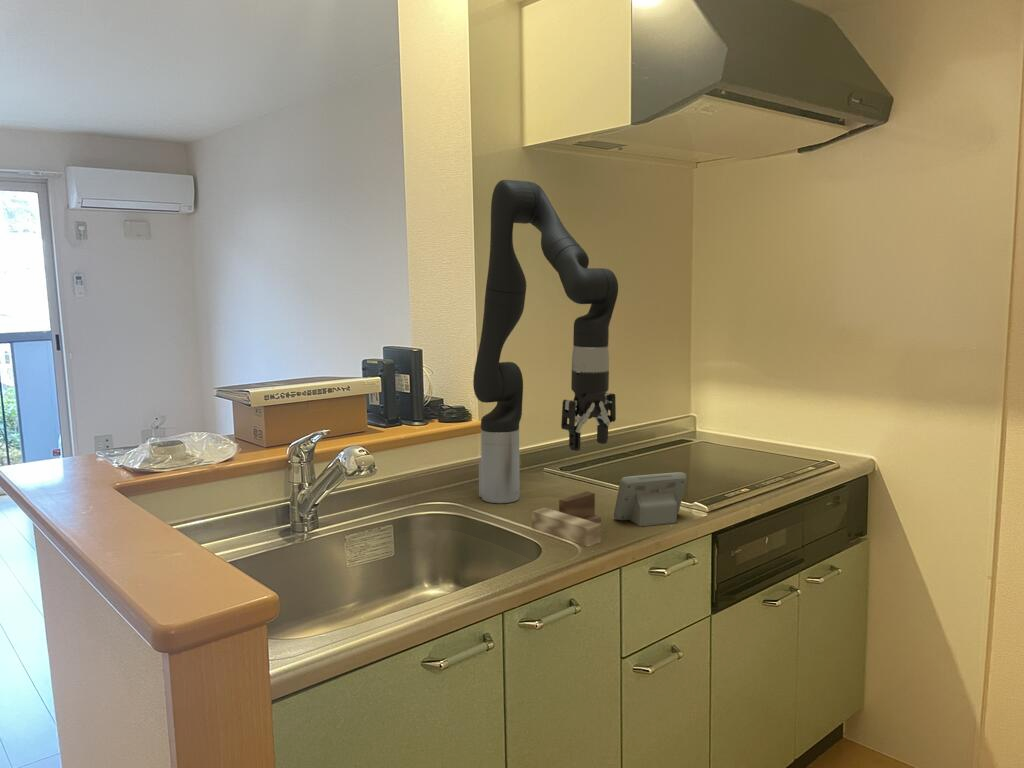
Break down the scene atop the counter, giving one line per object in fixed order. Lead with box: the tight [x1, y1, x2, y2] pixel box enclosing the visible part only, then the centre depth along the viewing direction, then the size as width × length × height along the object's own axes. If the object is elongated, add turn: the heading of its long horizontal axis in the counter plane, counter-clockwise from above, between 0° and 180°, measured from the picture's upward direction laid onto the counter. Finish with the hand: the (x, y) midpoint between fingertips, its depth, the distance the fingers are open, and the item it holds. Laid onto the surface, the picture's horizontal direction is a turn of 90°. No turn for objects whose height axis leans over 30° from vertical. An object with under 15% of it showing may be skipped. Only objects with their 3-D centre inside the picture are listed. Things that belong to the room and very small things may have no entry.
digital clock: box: [613, 471, 688, 527], centre depth 172 cm, size 16×9×11 cm, turn 95°
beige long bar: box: [531, 507, 602, 547], centre depth 163 cm, size 16×4×4 cm, turn 43°
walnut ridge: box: [558, 490, 602, 523], centre depth 171 cm, size 6×9×6 cm, turn 133°
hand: (588, 446), depth 159 cm, fingers open, 8 cm apart
